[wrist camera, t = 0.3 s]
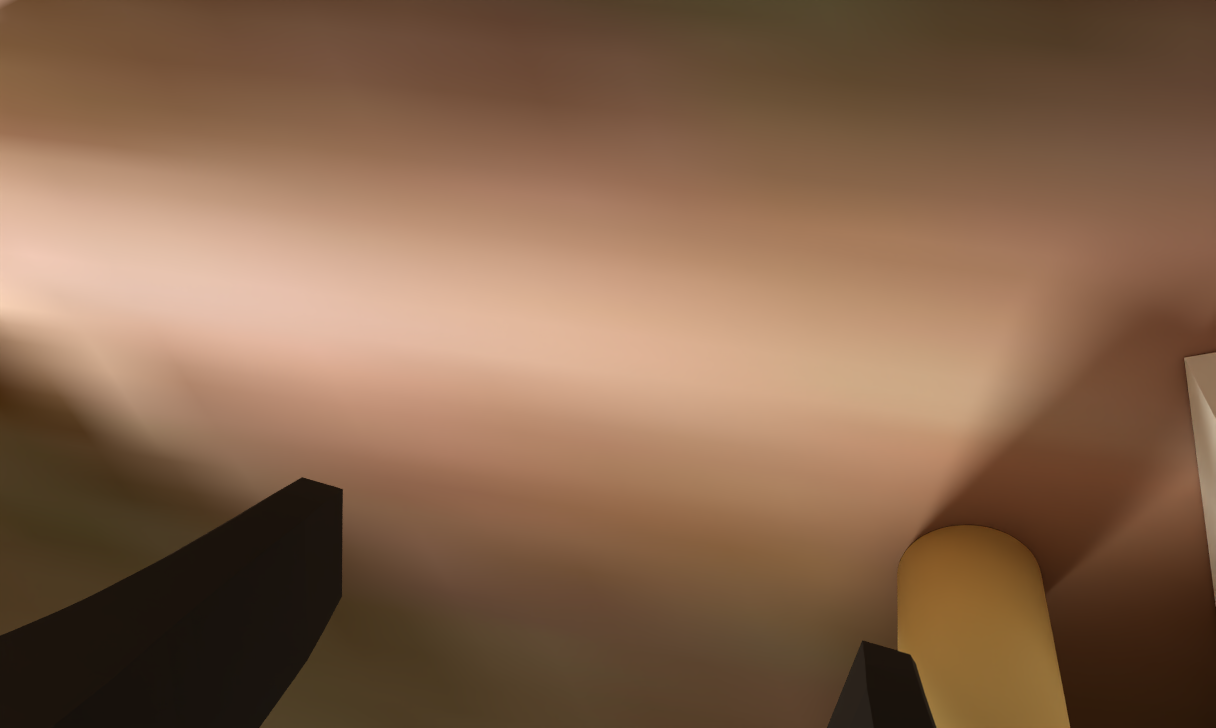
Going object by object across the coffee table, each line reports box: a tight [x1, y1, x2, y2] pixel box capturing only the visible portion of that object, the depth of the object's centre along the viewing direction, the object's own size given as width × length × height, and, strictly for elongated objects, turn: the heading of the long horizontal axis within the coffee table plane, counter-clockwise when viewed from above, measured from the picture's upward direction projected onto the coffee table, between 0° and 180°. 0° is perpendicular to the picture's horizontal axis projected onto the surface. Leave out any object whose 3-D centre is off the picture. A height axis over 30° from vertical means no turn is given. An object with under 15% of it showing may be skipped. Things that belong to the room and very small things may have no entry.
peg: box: [897, 525, 1070, 728], centre depth 21 cm, size 3×3×6 cm
